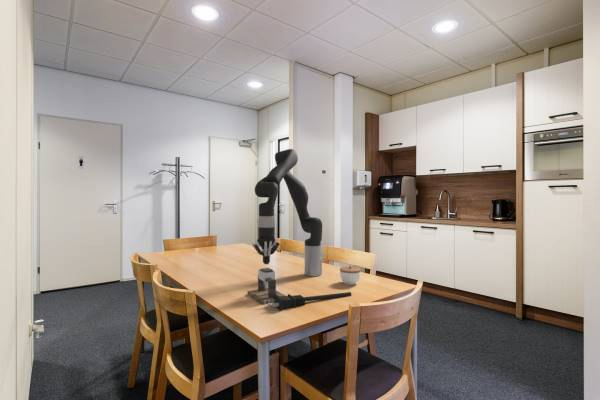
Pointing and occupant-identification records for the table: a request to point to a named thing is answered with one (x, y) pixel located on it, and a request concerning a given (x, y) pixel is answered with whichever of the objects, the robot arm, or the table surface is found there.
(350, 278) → the lidded jar
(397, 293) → the table surface
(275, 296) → the electrical plug
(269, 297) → the cutter stand
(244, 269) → the table surface
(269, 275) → the cutter head
